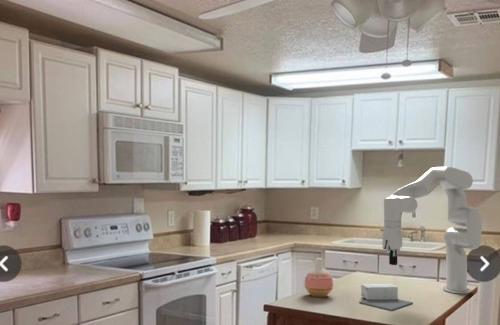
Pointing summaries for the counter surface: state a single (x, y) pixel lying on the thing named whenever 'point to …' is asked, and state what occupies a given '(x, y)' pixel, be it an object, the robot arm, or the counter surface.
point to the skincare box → (379, 291)
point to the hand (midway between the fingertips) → (393, 264)
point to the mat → (387, 304)
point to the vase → (318, 281)
